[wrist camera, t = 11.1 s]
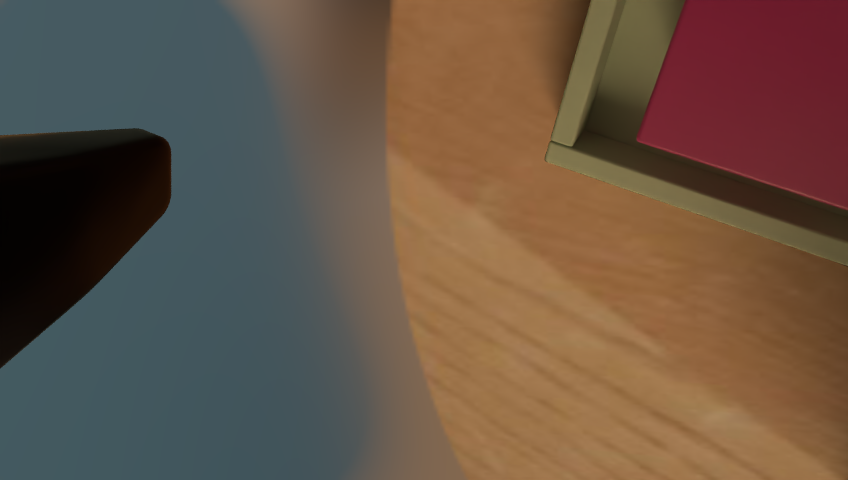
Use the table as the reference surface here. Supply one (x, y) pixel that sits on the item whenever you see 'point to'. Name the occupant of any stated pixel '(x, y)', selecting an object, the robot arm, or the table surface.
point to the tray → (657, 169)
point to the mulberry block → (758, 93)
